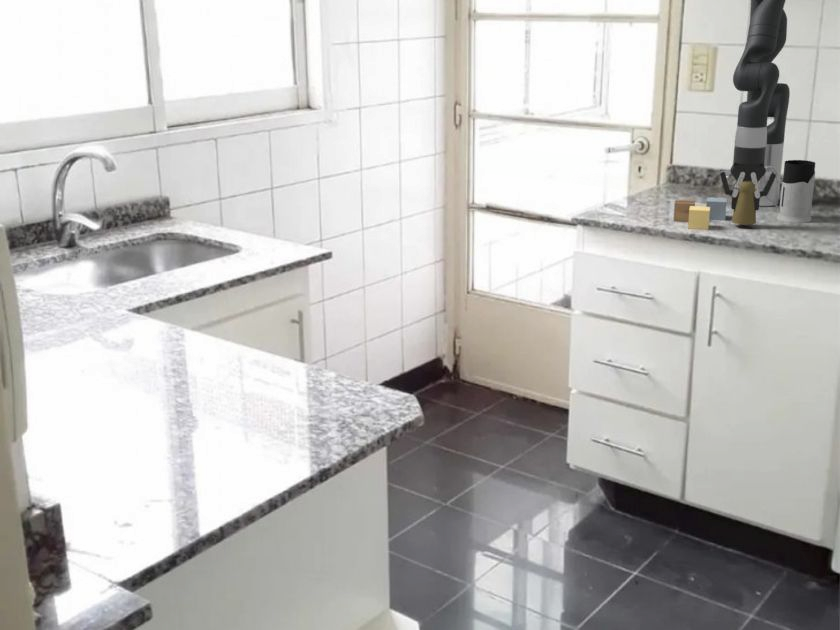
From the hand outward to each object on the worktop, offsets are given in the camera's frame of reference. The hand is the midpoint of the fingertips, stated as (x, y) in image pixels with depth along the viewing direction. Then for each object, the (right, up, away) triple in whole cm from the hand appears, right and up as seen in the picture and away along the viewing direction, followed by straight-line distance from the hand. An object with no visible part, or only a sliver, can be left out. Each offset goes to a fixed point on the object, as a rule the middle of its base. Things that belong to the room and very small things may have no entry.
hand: (744, 211), depth 255 cm
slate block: (-4, -1, +11) cm, 12 cm away
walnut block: (-13, -1, +10) cm, 16 cm away
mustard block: (-11, -4, +1) cm, 12 cm away
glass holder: (+13, -1, +9) cm, 16 cm away
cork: (0, -3, +1) cm, 3 cm away
